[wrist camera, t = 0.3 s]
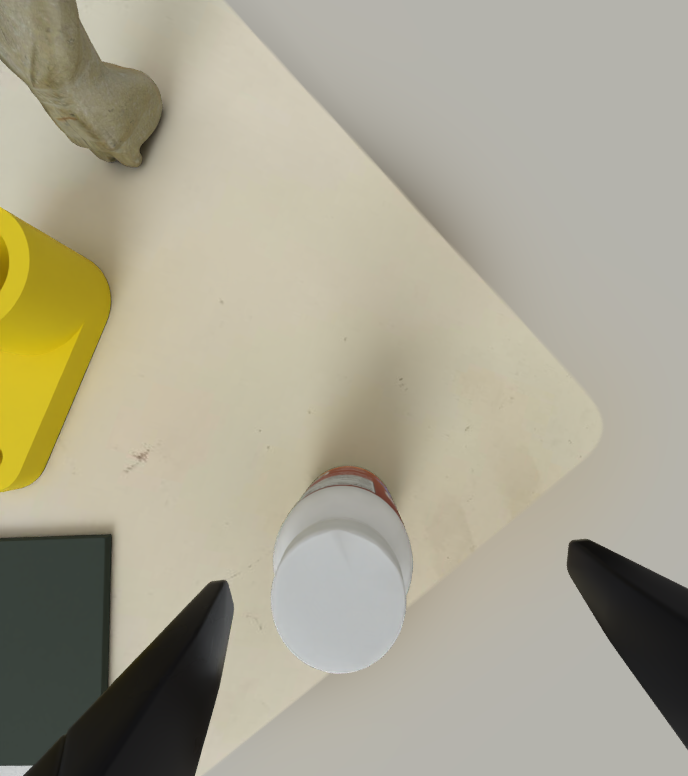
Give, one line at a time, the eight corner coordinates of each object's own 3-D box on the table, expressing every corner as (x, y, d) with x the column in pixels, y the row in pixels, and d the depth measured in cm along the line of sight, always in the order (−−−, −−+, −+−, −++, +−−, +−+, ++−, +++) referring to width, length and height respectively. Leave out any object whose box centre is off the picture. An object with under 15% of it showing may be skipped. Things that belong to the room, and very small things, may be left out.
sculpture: (182, 105, 25) (-66, -338, 11) (150, 186, 25) (-161, -162, 10) (117, 88, 26) (-210, -361, 11) (84, 167, 25) (-309, -193, 10)
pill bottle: (391, 561, 21) (427, 712, 10) (300, 553, 22) (240, 693, 11) (395, 466, 22) (433, 514, 11) (306, 460, 22) (255, 501, 11)
